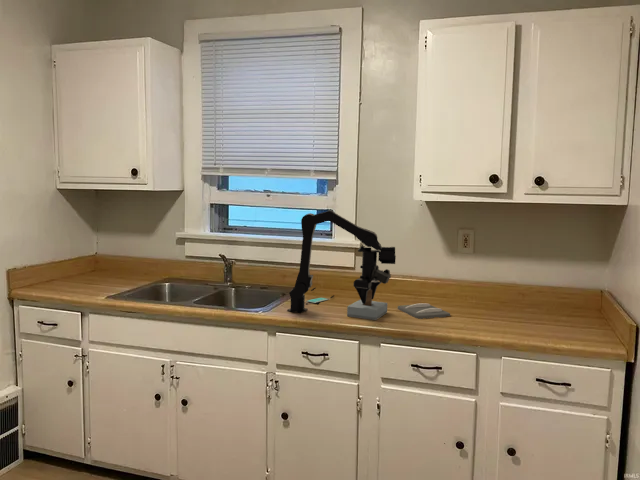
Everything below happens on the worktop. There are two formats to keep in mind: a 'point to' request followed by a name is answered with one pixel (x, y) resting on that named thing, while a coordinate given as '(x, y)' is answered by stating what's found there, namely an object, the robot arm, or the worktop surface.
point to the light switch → (423, 311)
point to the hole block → (367, 310)
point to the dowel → (369, 298)
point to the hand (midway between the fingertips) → (367, 301)
